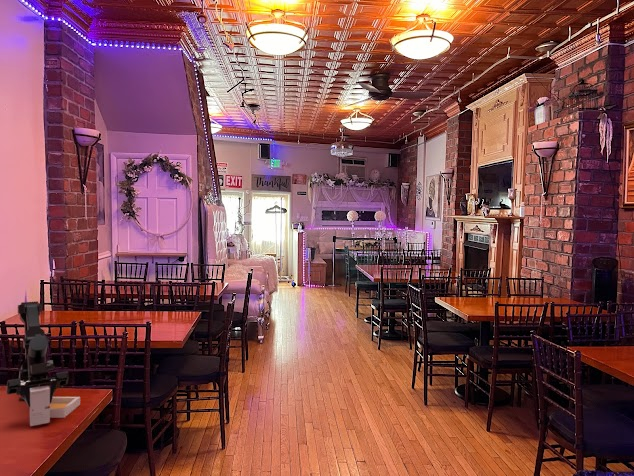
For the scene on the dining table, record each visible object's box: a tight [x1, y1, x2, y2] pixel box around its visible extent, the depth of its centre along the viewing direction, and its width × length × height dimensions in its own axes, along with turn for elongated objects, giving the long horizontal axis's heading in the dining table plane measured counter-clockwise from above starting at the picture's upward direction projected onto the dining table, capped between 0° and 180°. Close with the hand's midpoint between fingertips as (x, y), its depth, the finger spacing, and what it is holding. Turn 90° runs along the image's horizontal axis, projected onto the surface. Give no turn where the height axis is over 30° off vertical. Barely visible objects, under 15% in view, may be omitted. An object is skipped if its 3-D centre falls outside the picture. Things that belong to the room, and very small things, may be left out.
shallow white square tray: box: [50, 396, 81, 419], centre depth 176 cm, size 12×12×3 cm
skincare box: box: [29, 384, 51, 427], centre depth 163 cm, size 6×4×12 cm
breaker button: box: [50, 403, 67, 408], centre depth 176 cm, size 8×8×1 cm
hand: (40, 404), depth 162 cm, fingers open, 6 cm apart
